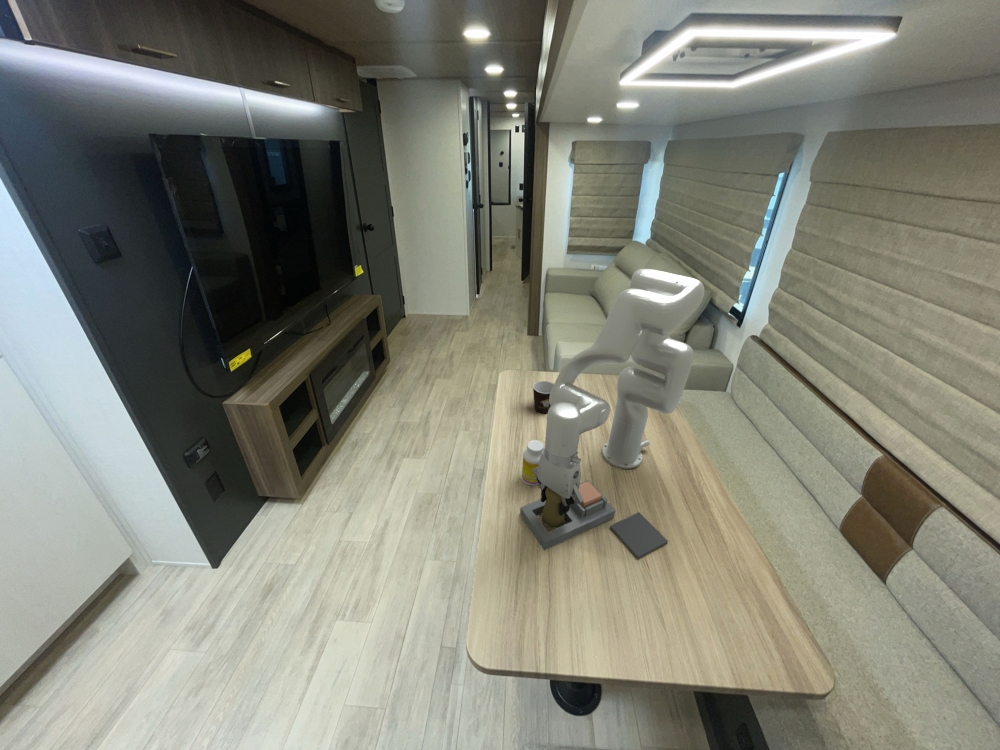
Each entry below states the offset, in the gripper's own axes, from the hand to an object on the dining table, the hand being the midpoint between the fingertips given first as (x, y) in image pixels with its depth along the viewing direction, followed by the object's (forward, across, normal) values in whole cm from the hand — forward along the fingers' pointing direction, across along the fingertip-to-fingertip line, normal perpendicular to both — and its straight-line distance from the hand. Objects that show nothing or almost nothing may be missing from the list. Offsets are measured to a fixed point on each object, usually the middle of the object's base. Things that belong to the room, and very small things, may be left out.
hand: (554, 504), depth 100 cm
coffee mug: (+7, +33, -39) cm, 51 cm away
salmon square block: (+3, -3, -9) cm, 10 cm away
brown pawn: (+5, 0, 0) cm, 5 cm away
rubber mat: (+7, -18, -12) cm, 23 cm away
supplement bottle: (+7, +14, -8) cm, 18 cm away
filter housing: (+7, -2, -4) cm, 8 cm away
